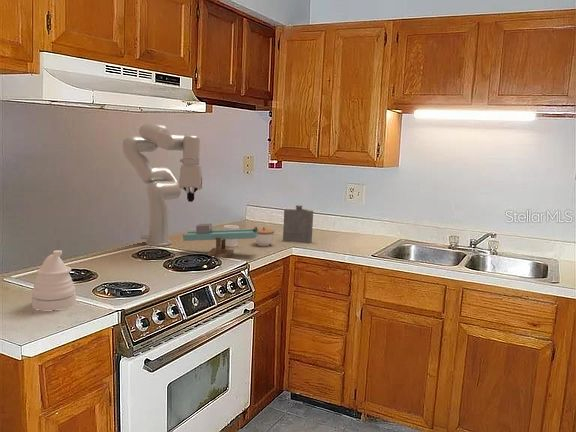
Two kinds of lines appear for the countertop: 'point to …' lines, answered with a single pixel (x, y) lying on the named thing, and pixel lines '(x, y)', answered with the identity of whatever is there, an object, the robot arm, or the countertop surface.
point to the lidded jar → (264, 237)
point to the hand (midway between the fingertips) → (190, 201)
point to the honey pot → (53, 285)
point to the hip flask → (298, 225)
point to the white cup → (231, 241)
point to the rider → (204, 229)
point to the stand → (220, 249)
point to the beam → (222, 234)
